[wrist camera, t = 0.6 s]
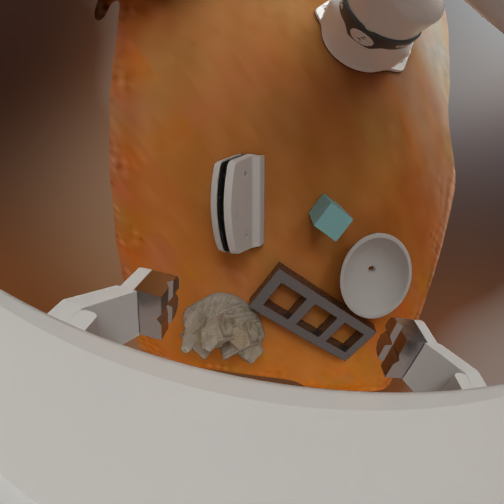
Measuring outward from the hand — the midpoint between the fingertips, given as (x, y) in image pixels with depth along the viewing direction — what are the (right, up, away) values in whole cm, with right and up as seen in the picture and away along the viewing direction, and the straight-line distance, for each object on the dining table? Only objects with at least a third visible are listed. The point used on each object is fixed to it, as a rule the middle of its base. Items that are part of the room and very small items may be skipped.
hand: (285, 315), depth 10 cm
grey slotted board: (+12, -10, +46) cm, 49 cm away
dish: (+22, -1, +41) cm, 47 cm away
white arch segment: (-3, +12, +39) cm, 41 cm away
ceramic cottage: (-7, -13, +50) cm, 52 cm away
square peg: (+12, +10, +38) cm, 41 cm away
